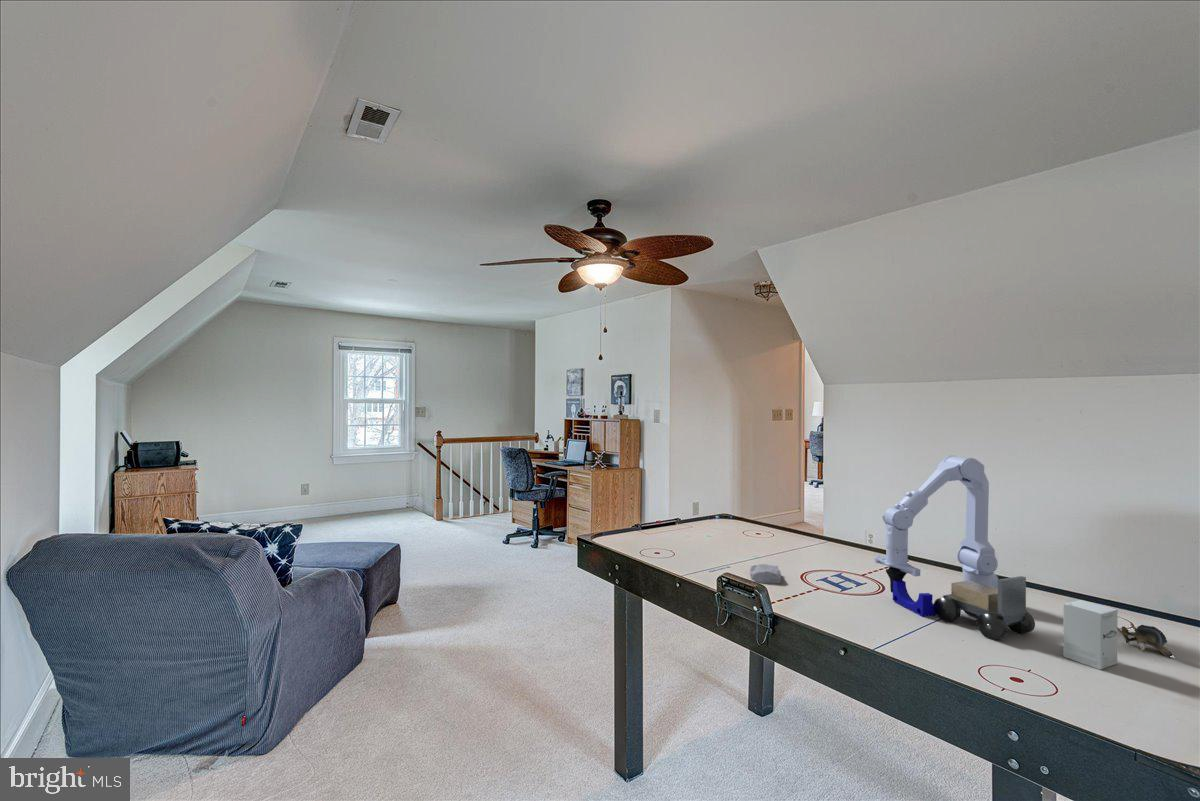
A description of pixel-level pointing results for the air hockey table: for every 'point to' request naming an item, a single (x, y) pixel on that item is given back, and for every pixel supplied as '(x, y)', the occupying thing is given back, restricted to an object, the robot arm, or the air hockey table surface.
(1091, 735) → the air hockey table surface
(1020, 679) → the air hockey table surface
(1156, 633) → the brown animal figurine
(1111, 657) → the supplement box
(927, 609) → the cable clip
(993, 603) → the trolley
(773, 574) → the stone block
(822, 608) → the air hockey table surface
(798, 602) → the air hockey table surface
